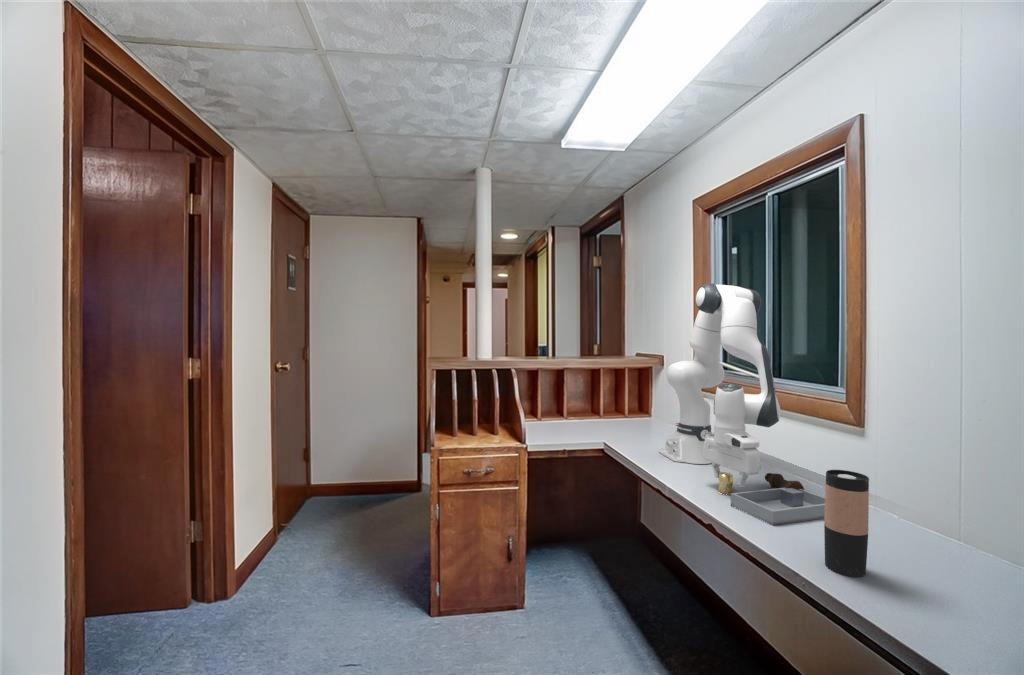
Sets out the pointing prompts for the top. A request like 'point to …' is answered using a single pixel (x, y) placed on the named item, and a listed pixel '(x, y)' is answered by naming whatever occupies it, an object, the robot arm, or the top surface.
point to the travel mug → (846, 522)
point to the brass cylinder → (725, 483)
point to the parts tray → (779, 506)
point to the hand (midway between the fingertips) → (729, 481)
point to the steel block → (792, 497)
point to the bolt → (782, 482)
